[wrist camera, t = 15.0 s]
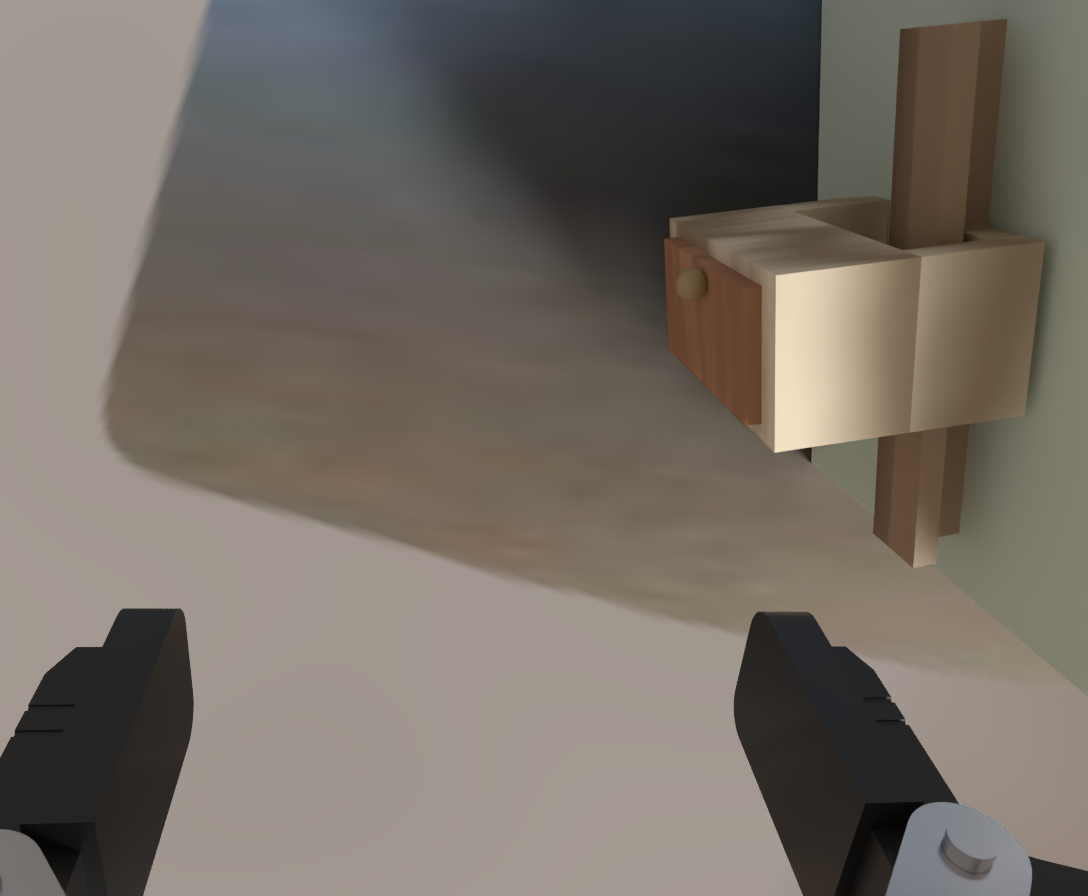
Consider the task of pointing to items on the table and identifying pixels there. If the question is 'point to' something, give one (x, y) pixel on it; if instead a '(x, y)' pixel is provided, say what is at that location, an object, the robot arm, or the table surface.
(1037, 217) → the wall board
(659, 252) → the table surface
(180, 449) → the table surface
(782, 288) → the wall cabinet
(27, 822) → the robot arm
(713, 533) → the table surface
